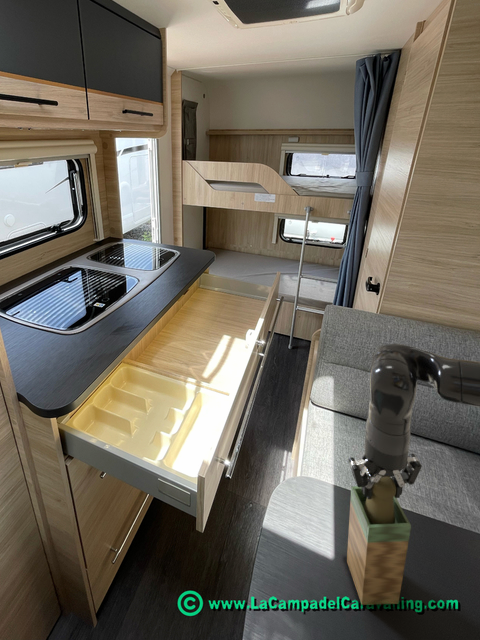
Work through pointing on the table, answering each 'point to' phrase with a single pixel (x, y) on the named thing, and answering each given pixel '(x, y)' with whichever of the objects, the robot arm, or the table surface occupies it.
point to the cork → (381, 502)
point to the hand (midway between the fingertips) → (381, 494)
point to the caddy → (376, 552)
